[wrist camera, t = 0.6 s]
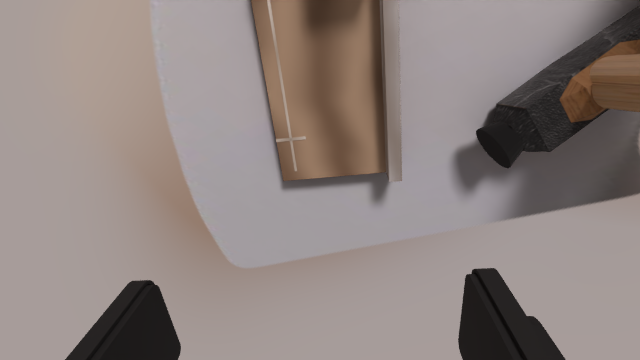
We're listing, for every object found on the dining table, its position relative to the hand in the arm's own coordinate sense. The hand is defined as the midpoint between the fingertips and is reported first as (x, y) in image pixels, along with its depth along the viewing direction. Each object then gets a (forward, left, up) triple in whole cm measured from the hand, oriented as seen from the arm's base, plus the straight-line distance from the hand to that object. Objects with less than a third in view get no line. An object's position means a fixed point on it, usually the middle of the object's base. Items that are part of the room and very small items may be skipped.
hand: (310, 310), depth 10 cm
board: (0, -6, -26) cm, 27 cm away
